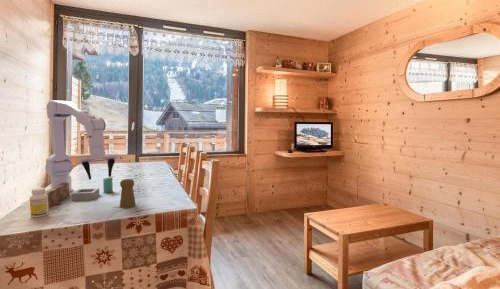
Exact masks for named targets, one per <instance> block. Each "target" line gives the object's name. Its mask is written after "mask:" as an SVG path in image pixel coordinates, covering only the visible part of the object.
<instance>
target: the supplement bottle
mask: <svg viewBox="0 0 500 289" xmlns="http://www.w3.org/2000/svg"><path fill="white" fill-rule="evenodd" d="M45 191H46V188H45V187H35V188H32V189H31V194H32V195H30V196H29V208H30V216H31V217H32V218H40V217H45V216H48V215H49V213H50V208H49V205H48V195H47V194H45Z"/></svg>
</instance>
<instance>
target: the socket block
mask: <svg viewBox="0 0 500 289" xmlns="http://www.w3.org/2000/svg"><path fill="white" fill-rule="evenodd" d="M99 196H100V188H99V187H97V188H93V187H92V188H78V189H77V190H75V191H73V192H72V193H71V201H92V200H94V201H95V199H97V198H98V197H99Z"/></svg>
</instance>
